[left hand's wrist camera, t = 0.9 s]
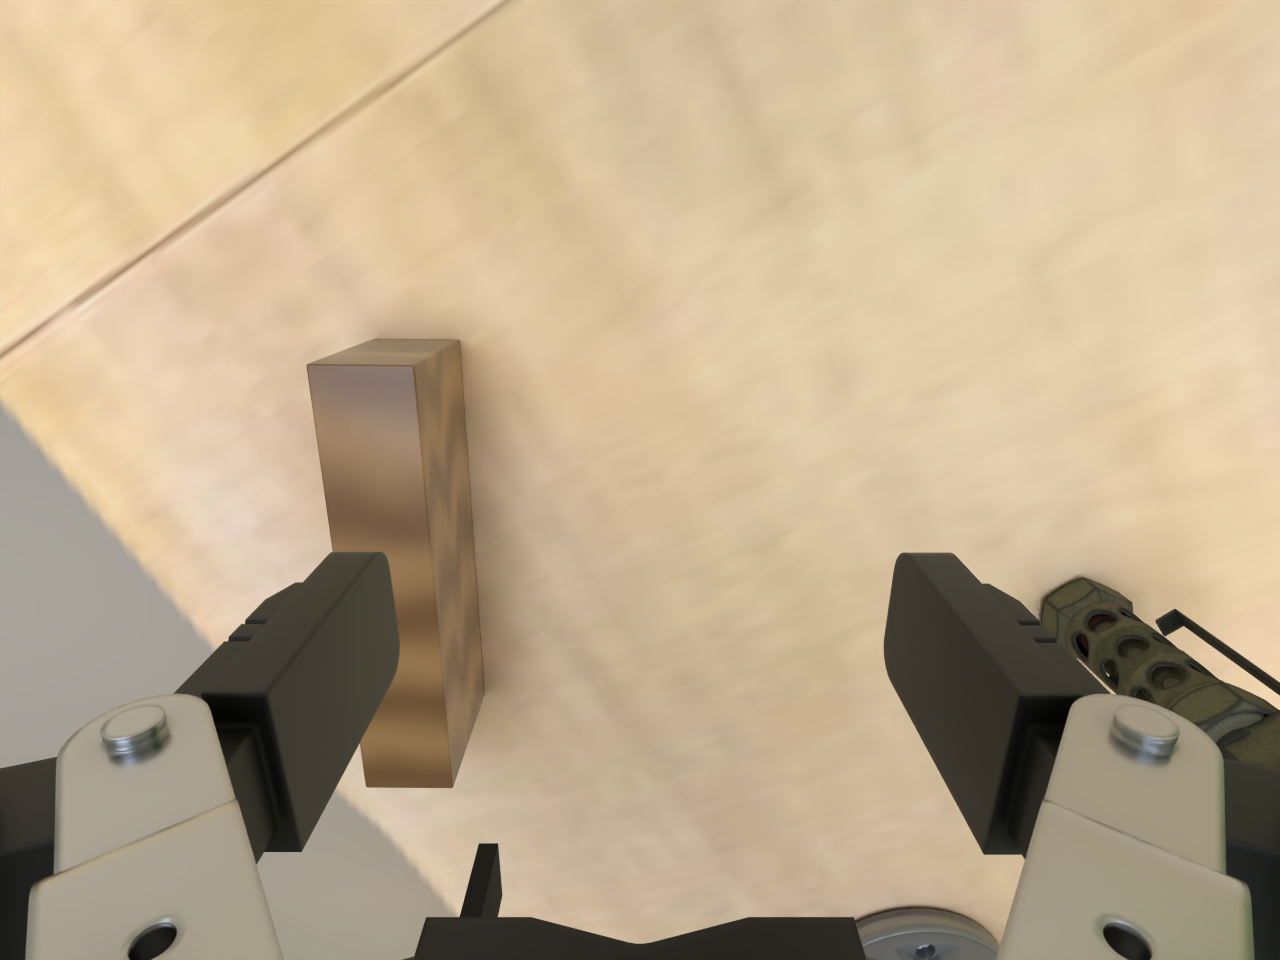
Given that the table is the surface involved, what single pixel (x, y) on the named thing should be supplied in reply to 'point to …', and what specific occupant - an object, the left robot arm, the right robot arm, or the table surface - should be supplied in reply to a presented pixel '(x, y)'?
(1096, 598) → the grenade
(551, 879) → the table surface
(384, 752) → the bar
